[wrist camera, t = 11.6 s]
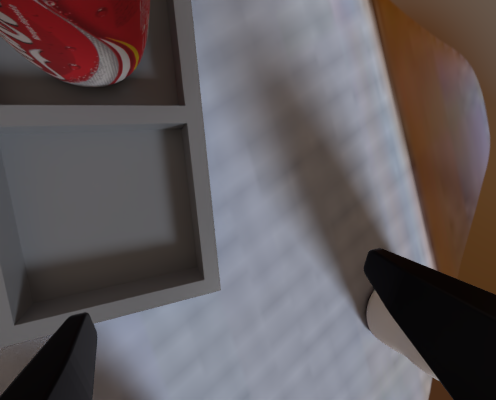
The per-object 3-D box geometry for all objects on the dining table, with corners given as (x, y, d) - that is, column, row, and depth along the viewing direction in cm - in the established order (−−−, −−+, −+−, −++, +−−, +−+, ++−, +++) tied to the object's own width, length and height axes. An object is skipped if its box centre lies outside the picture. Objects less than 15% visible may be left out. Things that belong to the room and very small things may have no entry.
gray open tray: (210, 274, 20) (220, 290, 18) (19, 319, 16) (-7, 349, 13) (174, -57, 17) (180, -101, 14) (-75, -112, 13) (-136, -191, 10)
